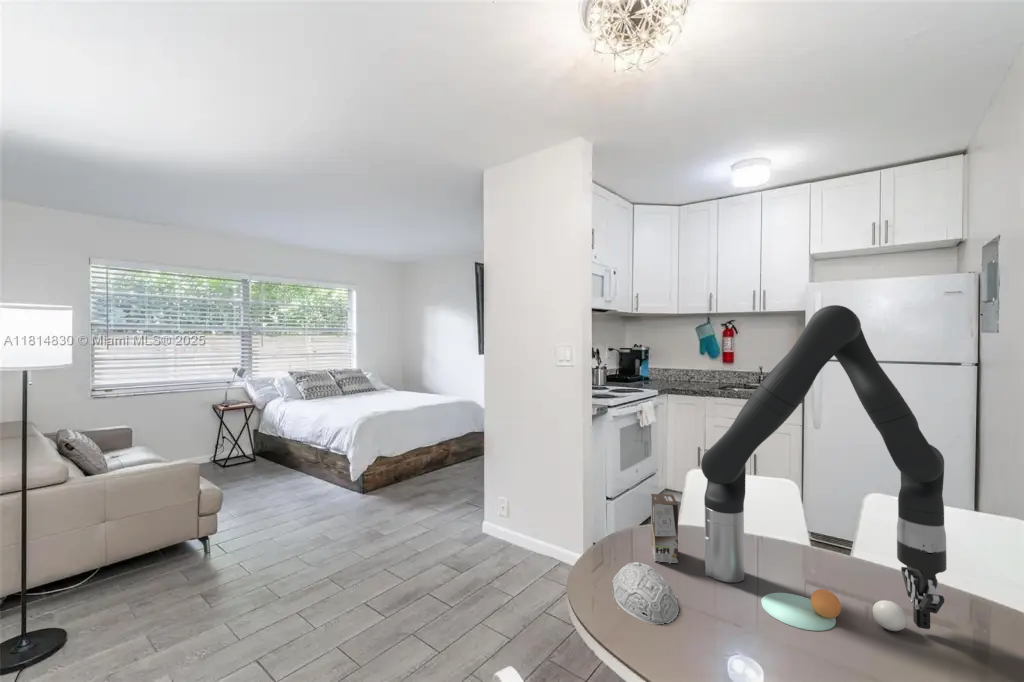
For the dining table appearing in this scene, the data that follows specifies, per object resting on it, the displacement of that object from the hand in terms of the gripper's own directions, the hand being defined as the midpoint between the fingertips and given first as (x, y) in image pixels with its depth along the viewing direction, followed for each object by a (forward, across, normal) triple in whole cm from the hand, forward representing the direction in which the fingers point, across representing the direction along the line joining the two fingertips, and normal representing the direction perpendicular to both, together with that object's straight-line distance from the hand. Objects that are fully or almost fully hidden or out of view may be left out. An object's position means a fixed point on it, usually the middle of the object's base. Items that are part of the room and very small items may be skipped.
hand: (921, 626), depth 93 cm
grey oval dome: (+2, +5, -54) cm, 55 cm away
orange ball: (-1, 0, -17) cm, 17 cm away
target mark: (+2, 0, -22) cm, 22 cm away
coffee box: (+2, -17, -51) cm, 54 cm away
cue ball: (-1, 0, -6) cm, 6 cm away
